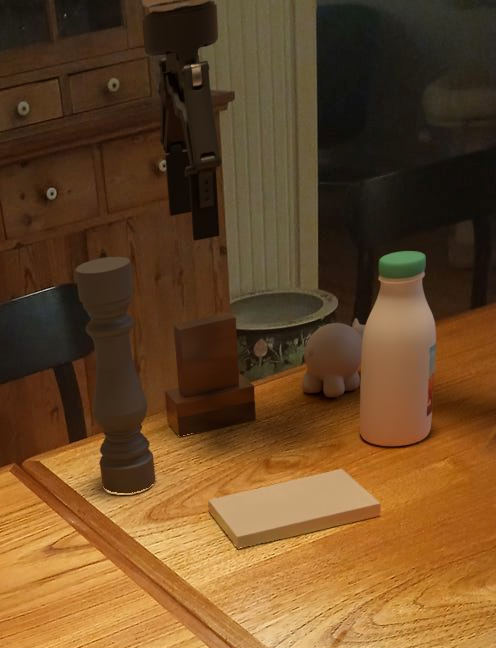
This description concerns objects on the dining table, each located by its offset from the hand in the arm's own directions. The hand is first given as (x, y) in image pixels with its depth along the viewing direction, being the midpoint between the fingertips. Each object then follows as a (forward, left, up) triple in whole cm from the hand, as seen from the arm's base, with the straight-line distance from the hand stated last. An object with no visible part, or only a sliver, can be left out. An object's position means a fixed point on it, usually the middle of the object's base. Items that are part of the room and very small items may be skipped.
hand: (193, 225), depth 111 cm
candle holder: (+13, +11, -25) cm, 30 cm away
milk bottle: (-18, +14, -25) cm, 33 cm away
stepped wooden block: (-1, -1, -24) cm, 24 cm away
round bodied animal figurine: (-20, -3, -25) cm, 32 cm away
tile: (0, +26, -24) cm, 36 cm away
